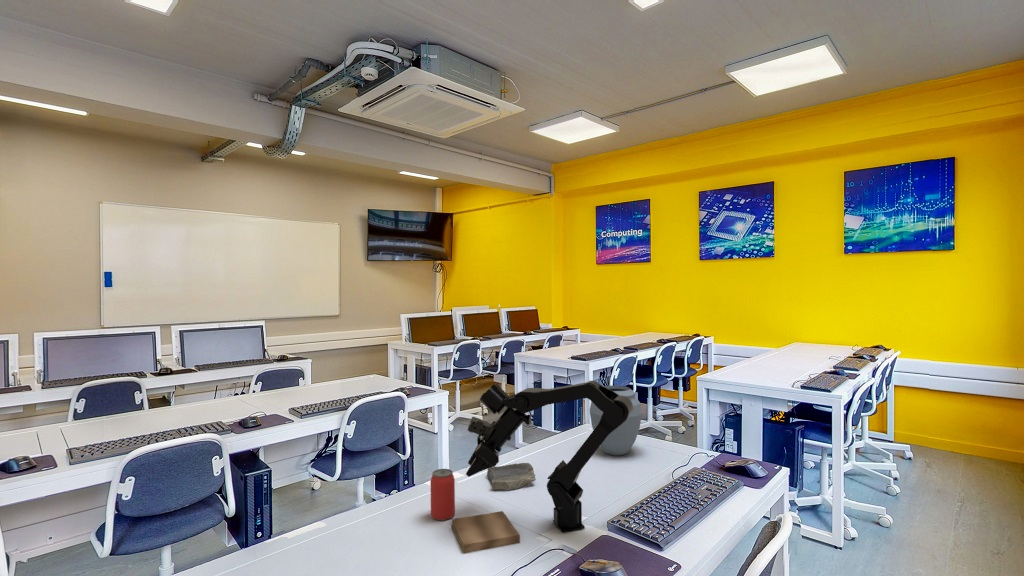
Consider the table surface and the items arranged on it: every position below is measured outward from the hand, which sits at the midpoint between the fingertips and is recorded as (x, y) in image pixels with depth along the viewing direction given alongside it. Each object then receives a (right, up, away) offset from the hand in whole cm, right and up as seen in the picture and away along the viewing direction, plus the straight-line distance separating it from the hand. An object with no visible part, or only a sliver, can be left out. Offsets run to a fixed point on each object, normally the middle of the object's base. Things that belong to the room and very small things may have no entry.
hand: (468, 469), depth 136 cm
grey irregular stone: (+12, -13, +25) cm, 31 cm away
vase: (+51, -13, +52) cm, 74 cm away
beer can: (-7, -13, +1) cm, 15 cm away
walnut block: (+5, -13, -10) cm, 17 cm away
